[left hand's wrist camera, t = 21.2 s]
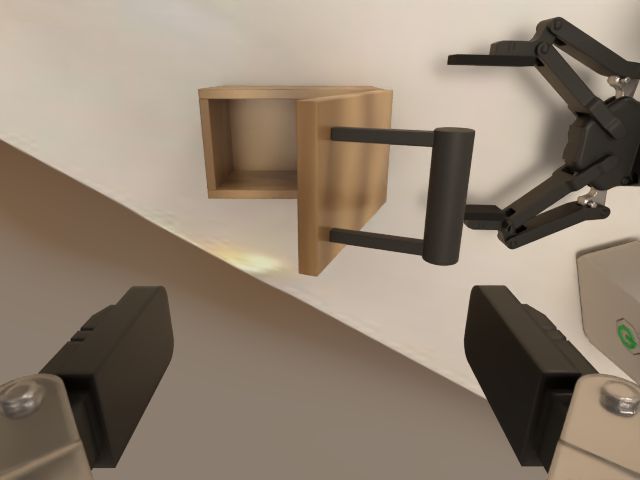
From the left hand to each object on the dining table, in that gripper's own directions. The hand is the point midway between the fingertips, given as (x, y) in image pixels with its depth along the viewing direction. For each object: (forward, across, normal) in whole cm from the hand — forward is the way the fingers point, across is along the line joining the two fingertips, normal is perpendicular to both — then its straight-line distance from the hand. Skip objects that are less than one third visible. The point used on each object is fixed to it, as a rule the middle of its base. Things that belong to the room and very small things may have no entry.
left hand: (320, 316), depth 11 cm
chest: (+37, -2, 0) cm, 37 cm away
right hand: (+30, +11, 0) cm, 32 cm away
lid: (+20, +2, 0) cm, 20 cm away
